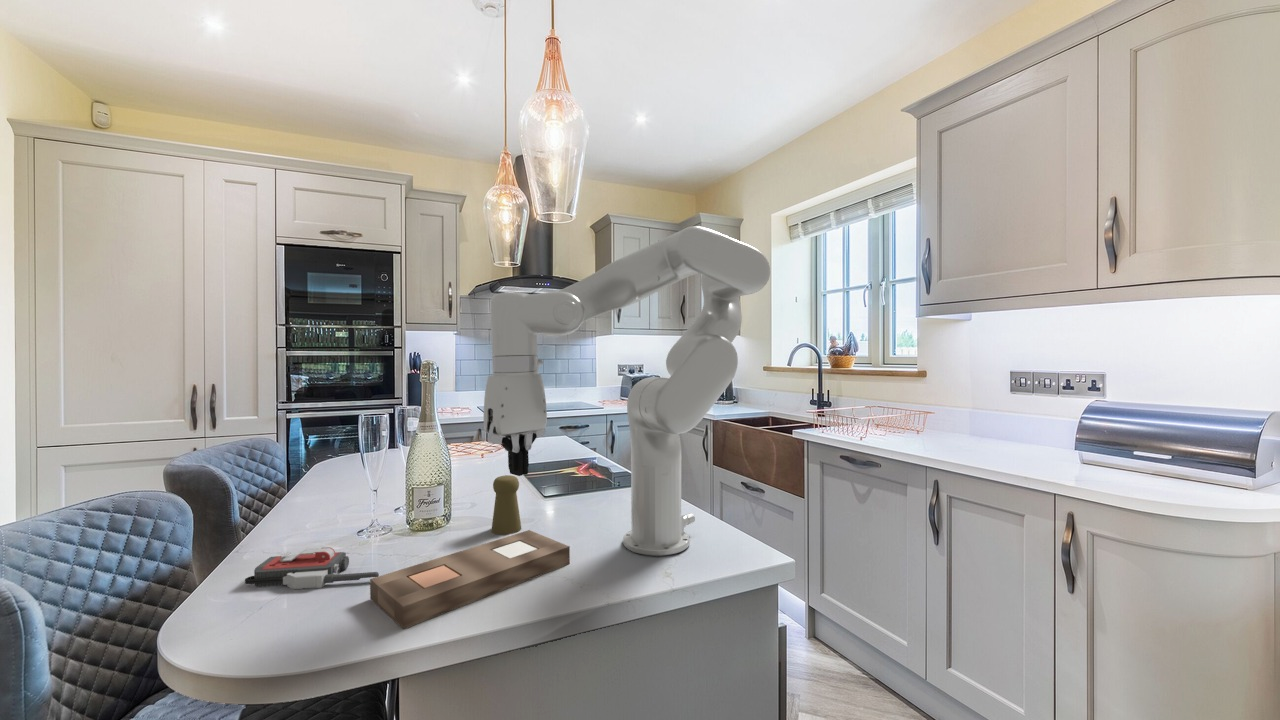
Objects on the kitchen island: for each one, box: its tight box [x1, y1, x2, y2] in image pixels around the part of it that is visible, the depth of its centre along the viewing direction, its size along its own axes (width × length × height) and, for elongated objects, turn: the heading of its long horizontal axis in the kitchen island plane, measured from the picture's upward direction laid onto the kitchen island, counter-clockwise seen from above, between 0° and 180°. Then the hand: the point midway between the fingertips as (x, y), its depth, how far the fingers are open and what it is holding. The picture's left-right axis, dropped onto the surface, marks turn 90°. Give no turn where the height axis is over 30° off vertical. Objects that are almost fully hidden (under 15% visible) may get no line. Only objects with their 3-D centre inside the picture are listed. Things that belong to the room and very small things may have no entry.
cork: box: [491, 474, 522, 536], centre depth 105 cm, size 6×6×11 cm
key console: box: [369, 529, 571, 630], centre depth 81 cm, size 28×12×3 cm, turn 137°
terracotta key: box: [409, 565, 460, 589], centre depth 76 cm, size 5×5×2 cm
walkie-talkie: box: [244, 547, 380, 590], centre depth 83 cm, size 9×4×20 cm
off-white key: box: [492, 541, 537, 559], centre depth 86 cm, size 5×5×2 cm
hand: (518, 473), depth 87 cm, fingers closed
